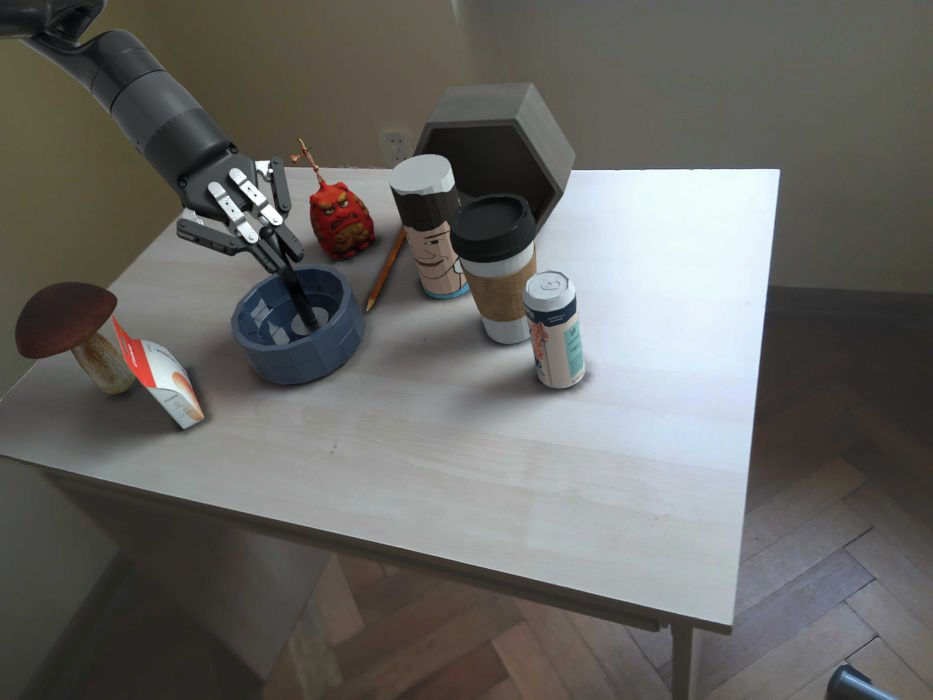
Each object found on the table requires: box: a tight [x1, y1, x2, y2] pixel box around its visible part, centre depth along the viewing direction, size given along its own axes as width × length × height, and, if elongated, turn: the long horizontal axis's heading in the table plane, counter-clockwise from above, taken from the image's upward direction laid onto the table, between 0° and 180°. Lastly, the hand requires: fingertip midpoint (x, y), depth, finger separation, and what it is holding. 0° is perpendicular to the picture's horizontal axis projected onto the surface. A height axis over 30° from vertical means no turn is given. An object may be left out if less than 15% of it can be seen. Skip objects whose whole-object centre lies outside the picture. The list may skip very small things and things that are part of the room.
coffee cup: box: [449, 193, 538, 345], centre depth 72 cm, size 8×8×15 cm
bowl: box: [230, 263, 367, 385], centre depth 80 cm, size 14×14×6 cm
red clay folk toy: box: [290, 138, 376, 261], centre depth 89 cm, size 8×7×15 cm
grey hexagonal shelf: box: [412, 81, 577, 242], centre depth 83 cm, size 17×8×21 cm
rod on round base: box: [258, 225, 331, 340], centre depth 76 cm, size 4×4×15 cm
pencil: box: [366, 226, 406, 312], centre depth 89 cm, size 1×18×1 cm, turn 165°
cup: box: [387, 154, 470, 300], centre depth 80 cm, size 7×7×15 cm
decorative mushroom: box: [14, 281, 136, 395], centre depth 78 cm, size 11×11×15 cm
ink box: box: [110, 313, 205, 430], centre depth 76 cm, size 3×9×12 cm, turn 30°
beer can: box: [522, 269, 586, 389], centre depth 67 cm, size 5×5×12 cm
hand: (292, 265), depth 72 cm, fingers closed on rod on round base
